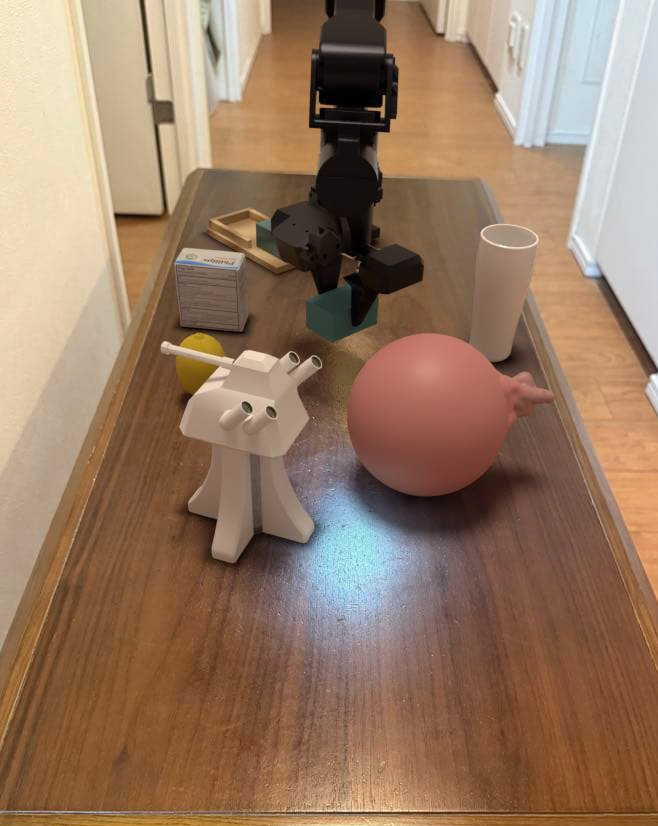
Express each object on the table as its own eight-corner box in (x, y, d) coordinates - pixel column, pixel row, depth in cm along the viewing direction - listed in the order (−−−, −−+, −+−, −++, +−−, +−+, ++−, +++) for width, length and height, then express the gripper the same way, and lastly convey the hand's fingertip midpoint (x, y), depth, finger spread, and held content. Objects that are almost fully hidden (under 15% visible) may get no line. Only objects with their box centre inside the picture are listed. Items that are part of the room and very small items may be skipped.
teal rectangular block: (350, 309, 99) (351, 282, 97) (376, 324, 97) (378, 297, 95) (305, 327, 95) (305, 299, 93) (332, 343, 93) (333, 315, 91)
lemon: (189, 416, 91) (182, 351, 85) (172, 390, 94) (165, 326, 89) (236, 405, 93) (233, 341, 87) (219, 379, 96) (214, 316, 91)
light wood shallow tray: (206, 234, 125) (204, 205, 122) (252, 220, 129) (251, 191, 126) (276, 274, 116) (276, 243, 113) (322, 258, 121) (323, 228, 118)
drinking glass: (522, 347, 105) (547, 231, 95) (506, 372, 101) (530, 253, 90) (472, 334, 107) (490, 218, 97) (454, 358, 102) (471, 239, 92)
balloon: (555, 527, 81) (594, 392, 70) (349, 530, 79) (357, 392, 68) (520, 433, 92) (549, 304, 81) (339, 434, 90) (345, 302, 79)
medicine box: (249, 316, 107) (246, 252, 101) (242, 334, 104) (239, 268, 98) (188, 310, 108) (182, 245, 102) (180, 327, 104) (173, 261, 98)
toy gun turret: (210, 465, 85) (194, 302, 72) (332, 497, 82) (338, 334, 70) (151, 540, 76) (123, 370, 64) (285, 578, 74) (283, 409, 61)
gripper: (228, 167, 85) (235, 307, 96) (352, 228, 76) (345, 375, 87) (310, 145, 91) (308, 280, 102) (435, 200, 82) (419, 341, 92)
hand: (341, 317), depth 95 cm, fingers closed on teal rectangular block, 4 cm apart
